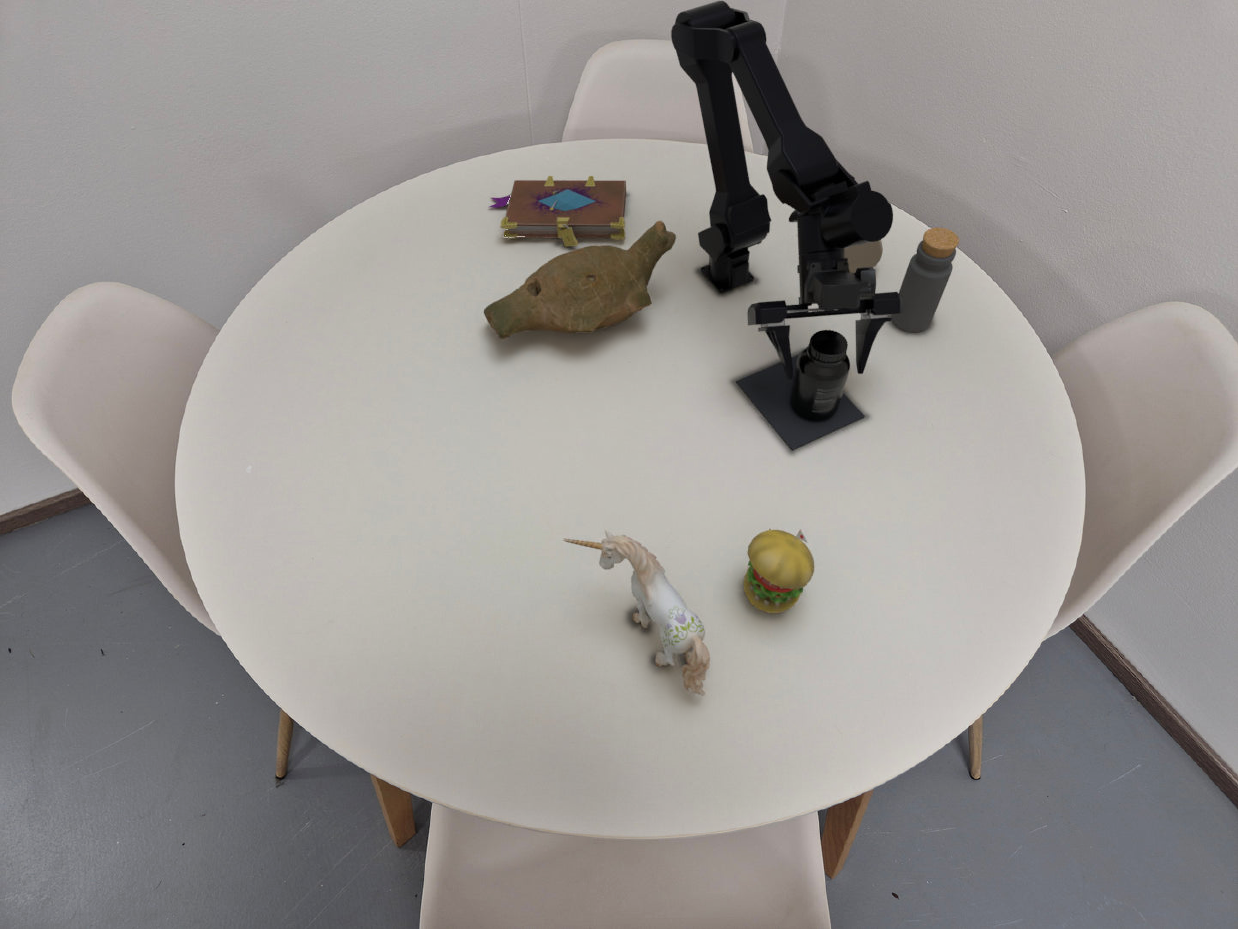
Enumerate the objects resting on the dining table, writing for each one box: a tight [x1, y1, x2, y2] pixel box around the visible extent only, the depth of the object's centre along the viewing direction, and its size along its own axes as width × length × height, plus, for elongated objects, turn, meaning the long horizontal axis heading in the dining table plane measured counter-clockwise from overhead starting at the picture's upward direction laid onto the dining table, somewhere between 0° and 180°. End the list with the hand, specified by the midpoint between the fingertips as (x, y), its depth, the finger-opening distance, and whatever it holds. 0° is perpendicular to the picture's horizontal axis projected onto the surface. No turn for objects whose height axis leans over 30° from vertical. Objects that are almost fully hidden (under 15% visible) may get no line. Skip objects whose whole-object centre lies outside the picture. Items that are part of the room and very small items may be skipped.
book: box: [488, 175, 627, 247], centre depth 131 cm, size 16×25×5 cm, turn 87°
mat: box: [735, 353, 865, 451], centre depth 107 cm, size 14×12×1 cm
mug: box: [845, 239, 884, 273], centre depth 122 cm, size 8×10×10 cm
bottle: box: [891, 227, 960, 333], centre depth 110 cm, size 6×6×15 cm
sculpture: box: [483, 220, 677, 340], centre depth 115 cm, size 14×16×30 cm
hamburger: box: [742, 528, 815, 614], centre depth 86 cm, size 8×7×12 cm
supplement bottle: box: [790, 329, 851, 421], centre depth 102 cm, size 7×7×12 cm
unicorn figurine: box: [562, 529, 711, 697], centre depth 83 cm, size 7×20×13 cm, turn 46°
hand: (825, 376), depth 100 cm, fingers open, 9 cm apart
